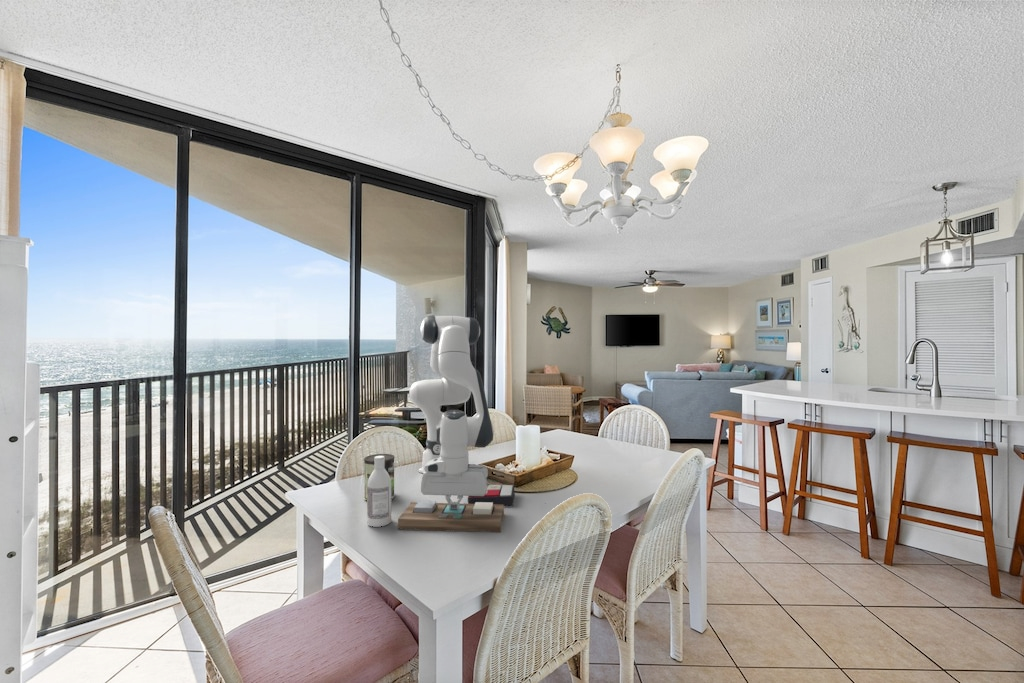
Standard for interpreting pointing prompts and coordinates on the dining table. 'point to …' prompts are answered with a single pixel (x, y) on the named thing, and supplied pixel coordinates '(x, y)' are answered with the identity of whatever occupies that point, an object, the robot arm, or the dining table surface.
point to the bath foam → (379, 495)
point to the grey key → (425, 507)
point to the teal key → (448, 511)
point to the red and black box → (496, 495)
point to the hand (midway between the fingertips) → (454, 508)
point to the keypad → (452, 519)
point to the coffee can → (370, 468)
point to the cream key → (483, 508)
